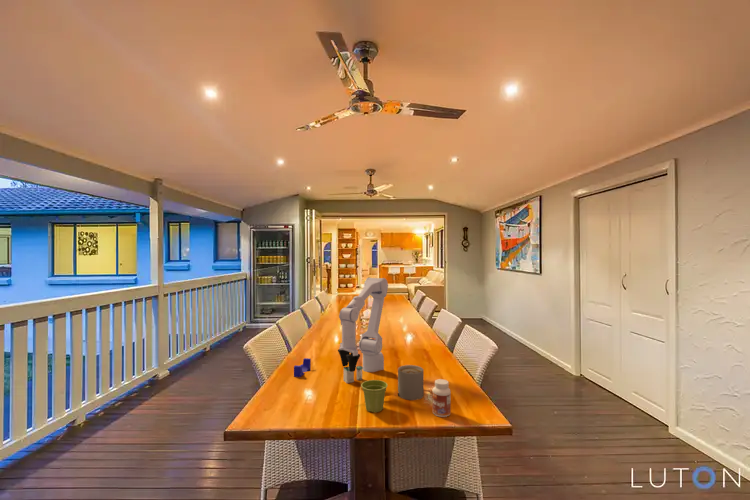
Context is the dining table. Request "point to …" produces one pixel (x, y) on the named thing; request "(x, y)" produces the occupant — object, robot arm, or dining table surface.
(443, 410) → the pill bottle
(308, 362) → the cable clip
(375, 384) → the plant pot
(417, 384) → the coffee mug
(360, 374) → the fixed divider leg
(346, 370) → the leg
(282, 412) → the dining table surface
